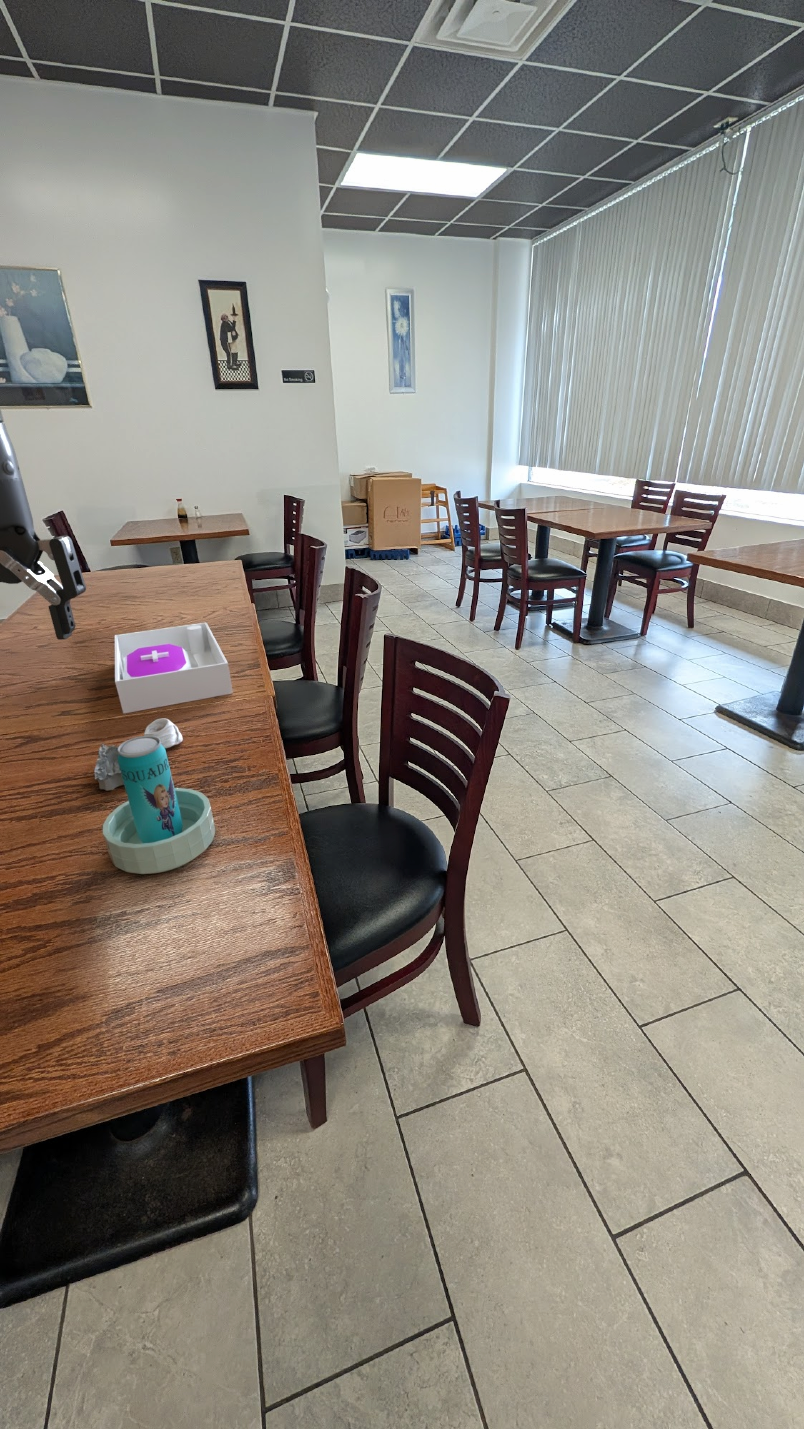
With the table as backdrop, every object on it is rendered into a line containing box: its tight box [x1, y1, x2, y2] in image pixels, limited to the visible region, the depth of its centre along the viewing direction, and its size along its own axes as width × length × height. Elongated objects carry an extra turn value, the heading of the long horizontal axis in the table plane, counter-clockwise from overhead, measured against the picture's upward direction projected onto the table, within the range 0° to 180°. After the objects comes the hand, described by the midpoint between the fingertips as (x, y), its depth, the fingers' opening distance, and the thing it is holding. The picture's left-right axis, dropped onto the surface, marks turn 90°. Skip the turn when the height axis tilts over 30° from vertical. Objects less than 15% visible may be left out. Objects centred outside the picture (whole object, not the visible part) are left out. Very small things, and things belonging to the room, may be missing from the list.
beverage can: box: [117, 735, 183, 843], centre depth 78 cm, size 6×6×15 cm
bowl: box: [102, 787, 216, 875], centre depth 80 cm, size 14×14×5 cm
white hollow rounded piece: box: [143, 717, 184, 749], centre depth 108 cm, size 8×7×5 cm
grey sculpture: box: [94, 742, 124, 791], centre depth 98 cm, size 11×8×4 cm
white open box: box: [114, 622, 234, 714], centre depth 138 cm, size 22×35×7 cm, turn 24°
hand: (23, 639), depth 62 cm, fingers open, 8 cm apart
